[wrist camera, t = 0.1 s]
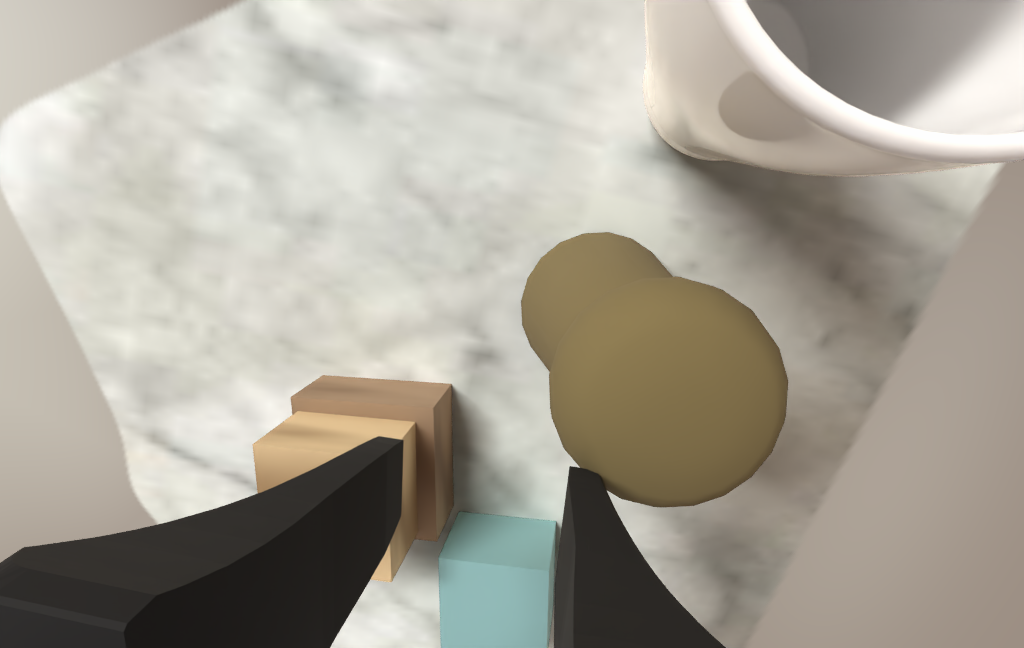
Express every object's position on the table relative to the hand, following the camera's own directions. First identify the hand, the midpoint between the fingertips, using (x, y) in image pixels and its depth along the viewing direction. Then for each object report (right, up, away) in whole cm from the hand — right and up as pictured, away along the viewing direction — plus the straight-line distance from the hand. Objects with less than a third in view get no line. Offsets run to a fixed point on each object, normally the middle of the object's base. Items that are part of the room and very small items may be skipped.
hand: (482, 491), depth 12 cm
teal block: (0, -7, +13) cm, 15 cm away
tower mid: (-6, -2, +10) cm, 12 cm away
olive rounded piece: (+4, +4, +9) cm, 11 cm away
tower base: (-5, -2, +13) cm, 14 cm away
